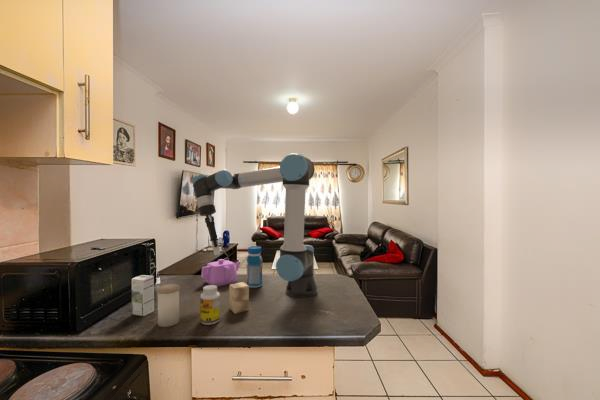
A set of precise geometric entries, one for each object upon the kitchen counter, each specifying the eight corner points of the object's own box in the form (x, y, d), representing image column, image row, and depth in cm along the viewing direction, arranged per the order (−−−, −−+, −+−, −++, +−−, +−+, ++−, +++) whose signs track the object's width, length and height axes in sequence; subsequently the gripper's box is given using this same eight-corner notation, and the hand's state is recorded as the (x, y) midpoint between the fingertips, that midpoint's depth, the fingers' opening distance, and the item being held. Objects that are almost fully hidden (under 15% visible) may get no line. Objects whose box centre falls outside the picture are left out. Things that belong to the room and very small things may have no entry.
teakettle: (199, 286, 141) (199, 262, 141) (211, 277, 158) (211, 255, 158) (232, 287, 140) (232, 263, 140) (241, 277, 157) (241, 256, 157)
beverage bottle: (251, 289, 138) (251, 249, 137) (243, 285, 144) (243, 247, 144) (265, 285, 143) (265, 247, 143) (256, 281, 150) (257, 245, 149)
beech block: (243, 305, 118) (243, 281, 118) (248, 310, 113) (248, 285, 113) (229, 308, 114) (229, 284, 114) (234, 313, 109) (234, 288, 109)
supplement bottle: (196, 322, 101) (196, 287, 101) (211, 315, 107) (211, 282, 107) (208, 327, 98) (208, 291, 97) (223, 320, 103) (223, 286, 103)
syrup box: (154, 311, 111) (154, 275, 111) (142, 317, 106) (142, 279, 106) (143, 309, 113) (143, 274, 113) (131, 315, 107) (130, 278, 107)
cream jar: (183, 319, 104) (183, 284, 104) (170, 328, 97) (170, 291, 97) (166, 317, 106) (166, 283, 106) (152, 325, 99) (152, 289, 99)
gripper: (198, 211, 136) (208, 257, 132) (198, 204, 125) (209, 255, 120) (213, 208, 139) (224, 253, 135) (215, 200, 128) (227, 250, 123)
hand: (217, 254), depth 128 cm, fingers closed
